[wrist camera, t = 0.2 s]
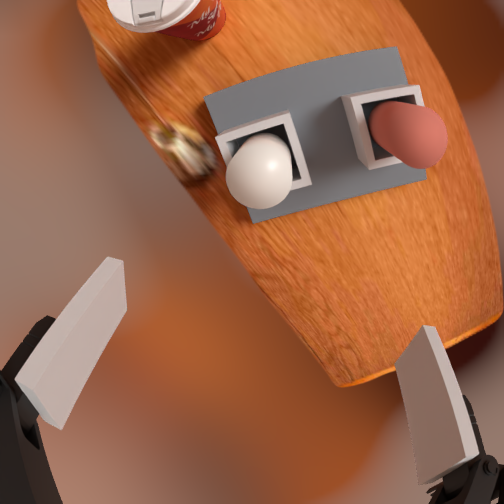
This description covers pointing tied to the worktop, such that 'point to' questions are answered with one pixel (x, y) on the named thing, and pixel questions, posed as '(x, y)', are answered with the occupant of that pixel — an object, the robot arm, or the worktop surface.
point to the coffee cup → (170, 17)
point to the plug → (260, 171)
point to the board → (320, 125)
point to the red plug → (409, 132)
